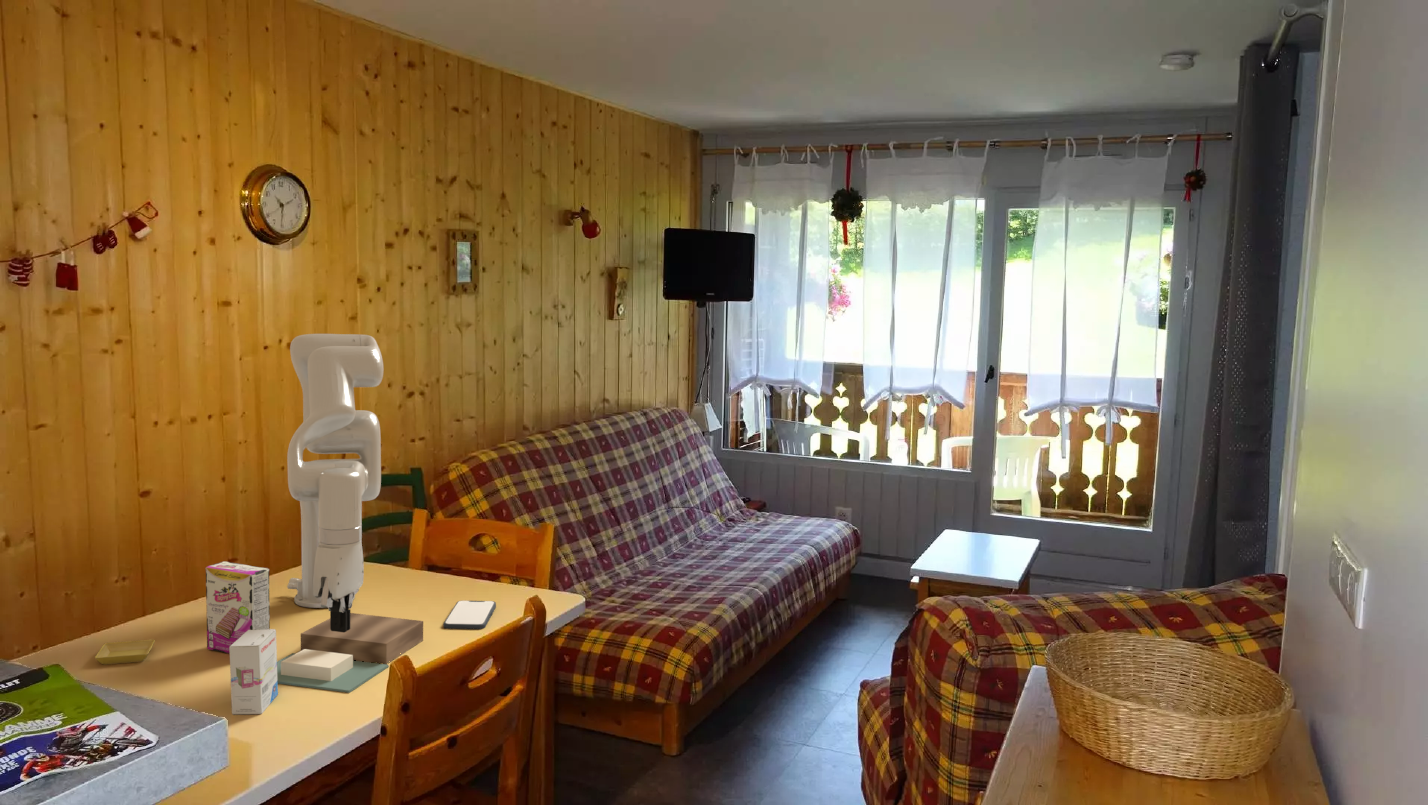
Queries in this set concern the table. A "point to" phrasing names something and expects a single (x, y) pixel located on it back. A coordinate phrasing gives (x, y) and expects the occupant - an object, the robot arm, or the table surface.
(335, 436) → the robot arm
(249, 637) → the ink box
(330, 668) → the tile
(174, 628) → the table surface
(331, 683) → the mat
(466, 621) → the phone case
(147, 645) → the yellow square dish
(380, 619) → the block
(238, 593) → the candy bar box
